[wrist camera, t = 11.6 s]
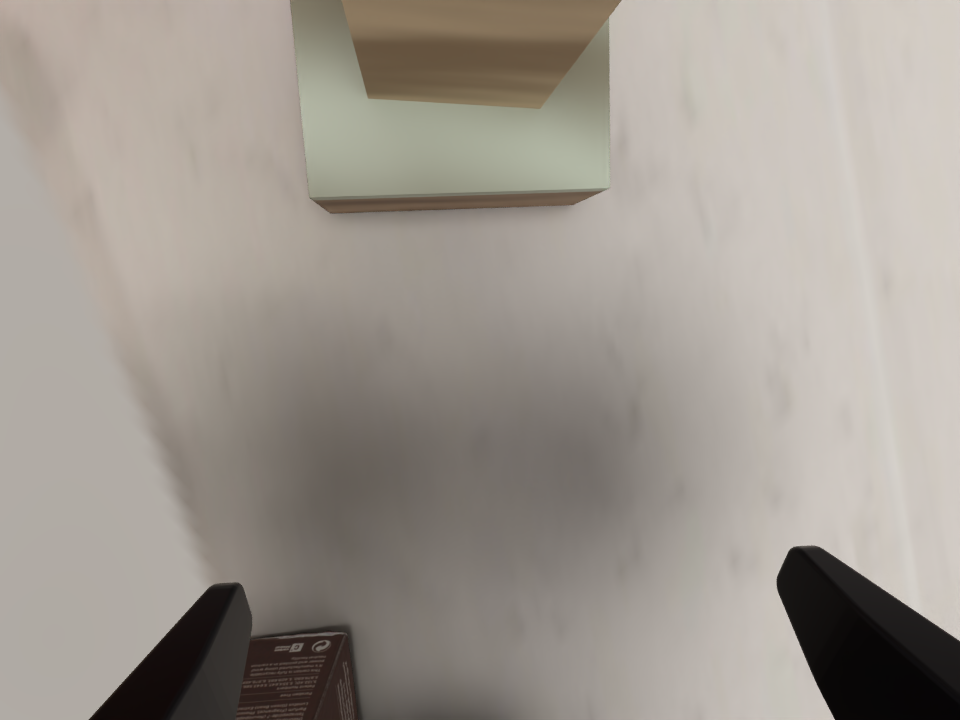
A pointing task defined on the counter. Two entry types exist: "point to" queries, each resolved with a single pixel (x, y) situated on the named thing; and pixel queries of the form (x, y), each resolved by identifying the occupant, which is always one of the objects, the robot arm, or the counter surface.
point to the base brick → (443, 134)
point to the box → (298, 679)
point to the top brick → (471, 47)
